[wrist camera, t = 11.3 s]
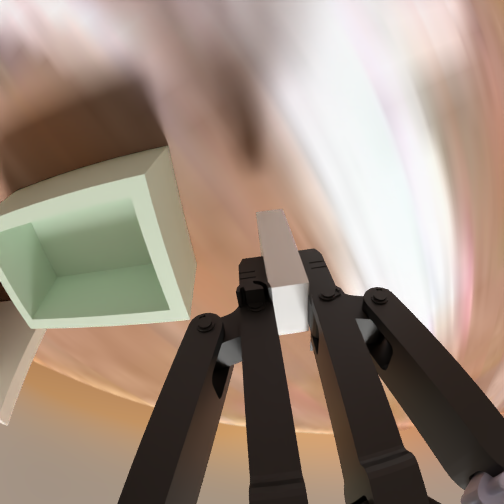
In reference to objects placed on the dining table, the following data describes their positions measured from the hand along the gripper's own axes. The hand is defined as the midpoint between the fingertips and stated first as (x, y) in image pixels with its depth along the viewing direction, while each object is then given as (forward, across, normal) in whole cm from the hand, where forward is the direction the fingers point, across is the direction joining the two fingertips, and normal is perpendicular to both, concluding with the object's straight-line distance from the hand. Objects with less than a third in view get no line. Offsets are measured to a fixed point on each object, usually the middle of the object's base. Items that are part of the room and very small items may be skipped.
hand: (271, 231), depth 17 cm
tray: (+4, -13, 0) cm, 13 cm away
